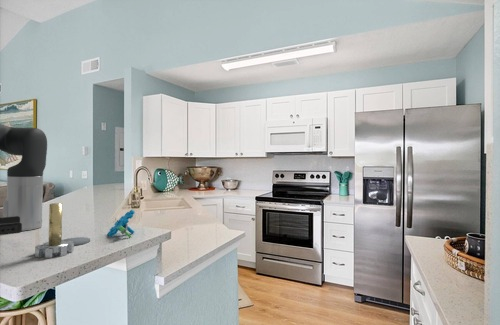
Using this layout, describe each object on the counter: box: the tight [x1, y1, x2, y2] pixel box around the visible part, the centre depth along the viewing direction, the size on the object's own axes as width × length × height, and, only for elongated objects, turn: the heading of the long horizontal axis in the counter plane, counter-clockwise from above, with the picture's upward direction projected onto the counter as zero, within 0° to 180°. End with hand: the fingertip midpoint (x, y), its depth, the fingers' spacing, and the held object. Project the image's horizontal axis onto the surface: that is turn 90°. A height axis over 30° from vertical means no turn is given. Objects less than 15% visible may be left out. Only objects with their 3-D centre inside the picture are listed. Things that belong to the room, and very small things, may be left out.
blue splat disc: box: [107, 209, 136, 238], centre depth 85 cm, size 11×6×10 cm
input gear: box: [34, 202, 75, 259], centre depth 68 cm, size 8×8×12 cm
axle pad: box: [63, 236, 91, 247], centre depth 76 cm, size 8×8×1 cm
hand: (20, 223), depth 63 cm, fingers open, 8 cm apart
